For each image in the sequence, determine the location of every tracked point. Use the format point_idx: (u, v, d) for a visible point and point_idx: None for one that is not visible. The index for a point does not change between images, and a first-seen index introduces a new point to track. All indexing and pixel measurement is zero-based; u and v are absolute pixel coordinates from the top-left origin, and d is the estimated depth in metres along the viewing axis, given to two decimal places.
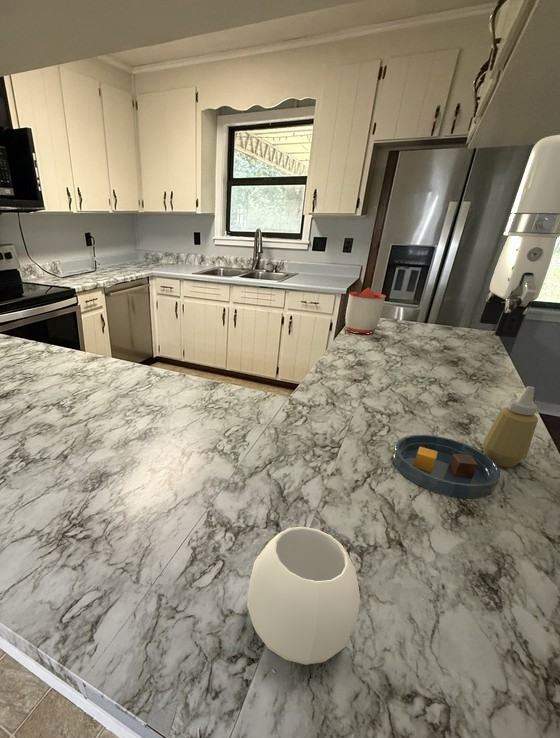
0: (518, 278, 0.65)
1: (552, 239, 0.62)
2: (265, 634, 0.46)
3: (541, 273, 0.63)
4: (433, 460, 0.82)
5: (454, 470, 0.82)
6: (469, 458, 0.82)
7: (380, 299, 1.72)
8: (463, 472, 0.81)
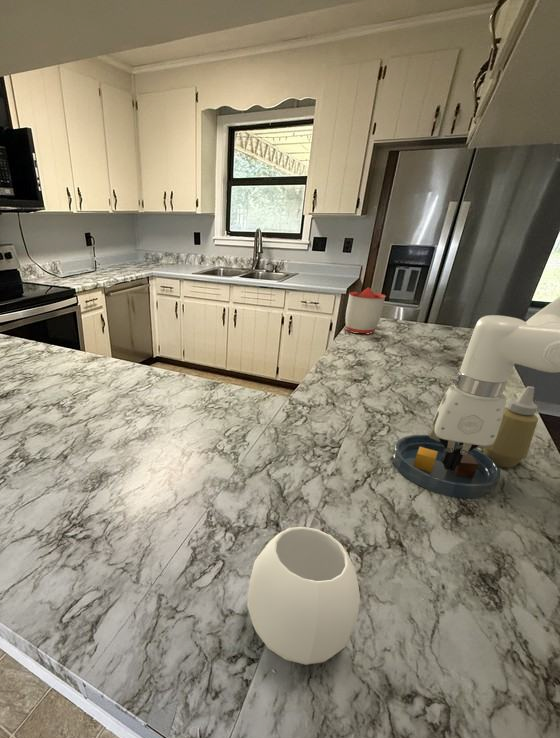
0: (436, 413, 0.79)
1: (452, 392, 0.74)
2: (265, 634, 0.46)
3: (440, 415, 0.76)
4: (433, 460, 0.82)
5: (455, 470, 0.82)
6: (470, 458, 0.82)
7: (380, 299, 1.72)
8: (464, 472, 0.81)
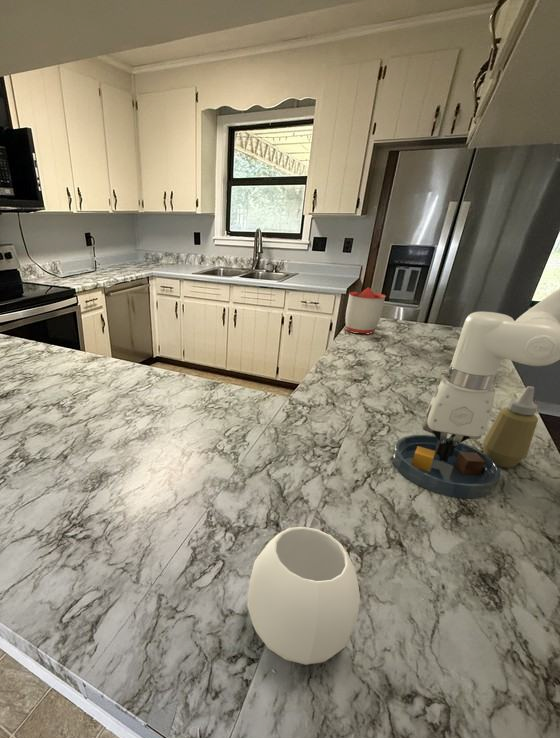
0: (429, 406, 0.82)
1: (443, 385, 0.77)
2: (265, 634, 0.46)
3: (432, 408, 0.80)
4: (431, 459, 0.82)
5: (462, 468, 0.83)
6: (475, 455, 0.83)
7: (380, 299, 1.72)
8: (471, 470, 0.82)
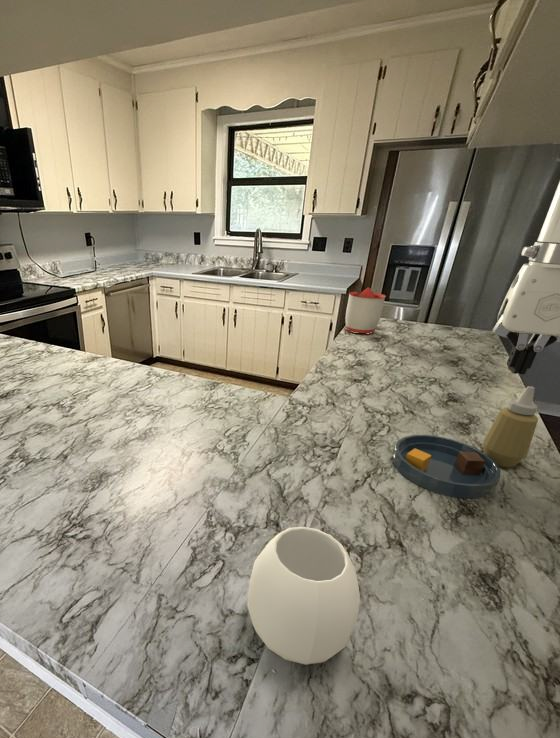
0: (503, 303, 0.65)
1: (528, 267, 0.60)
2: (265, 634, 0.46)
3: (511, 300, 0.62)
4: (421, 462, 0.81)
5: (462, 468, 0.83)
6: (475, 455, 0.83)
7: (380, 299, 1.72)
8: (471, 470, 0.82)
